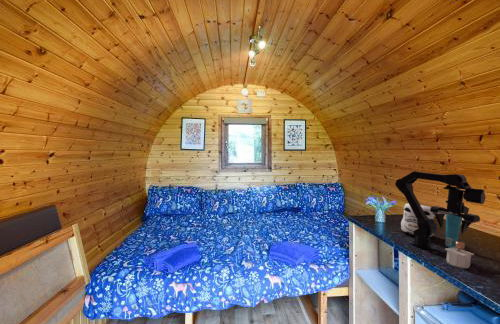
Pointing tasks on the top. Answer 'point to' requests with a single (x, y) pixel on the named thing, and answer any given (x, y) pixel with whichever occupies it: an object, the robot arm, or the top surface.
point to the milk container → (413, 219)
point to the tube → (452, 229)
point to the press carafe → (458, 257)
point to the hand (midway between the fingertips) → (451, 230)
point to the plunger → (459, 245)
